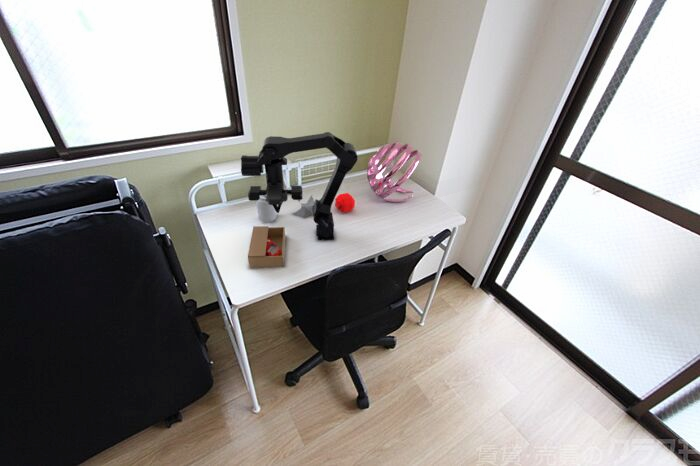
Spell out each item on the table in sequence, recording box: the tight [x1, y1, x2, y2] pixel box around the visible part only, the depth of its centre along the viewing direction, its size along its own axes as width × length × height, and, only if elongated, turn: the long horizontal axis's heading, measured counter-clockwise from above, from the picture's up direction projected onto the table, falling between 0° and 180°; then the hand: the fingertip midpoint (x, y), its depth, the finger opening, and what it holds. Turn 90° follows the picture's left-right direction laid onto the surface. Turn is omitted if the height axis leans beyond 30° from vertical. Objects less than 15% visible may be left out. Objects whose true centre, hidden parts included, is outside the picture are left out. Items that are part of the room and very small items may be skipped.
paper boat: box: [293, 194, 315, 219], centre depth 134 cm, size 12×6×9 cm
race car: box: [265, 237, 282, 256], centre depth 113 cm, size 13×5×4 cm, turn 39°
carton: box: [247, 226, 286, 269], centre depth 113 cm, size 17×12×5 cm
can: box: [255, 195, 277, 223], centre depth 127 cm, size 8×8×12 cm
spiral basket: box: [366, 141, 422, 203], centre depth 145 cm, size 28×28×27 cm
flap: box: [247, 225, 270, 258], centre depth 111 cm, size 17×6×1 cm, turn 8°
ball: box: [334, 192, 356, 214], centre depth 137 cm, size 8×8×8 cm
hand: (278, 212), depth 114 cm, fingers closed
